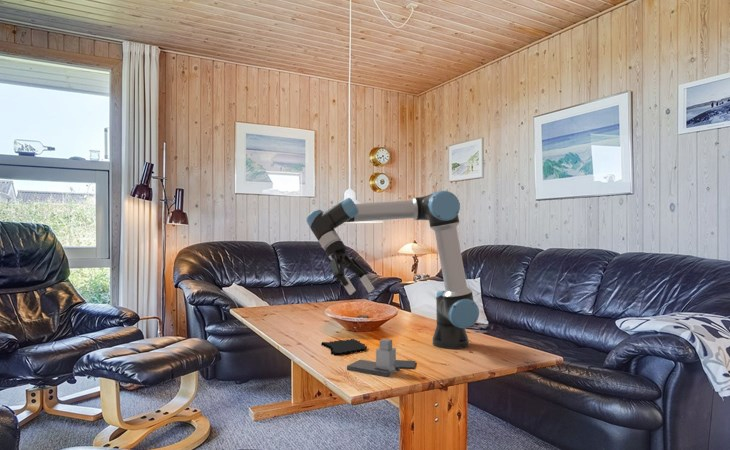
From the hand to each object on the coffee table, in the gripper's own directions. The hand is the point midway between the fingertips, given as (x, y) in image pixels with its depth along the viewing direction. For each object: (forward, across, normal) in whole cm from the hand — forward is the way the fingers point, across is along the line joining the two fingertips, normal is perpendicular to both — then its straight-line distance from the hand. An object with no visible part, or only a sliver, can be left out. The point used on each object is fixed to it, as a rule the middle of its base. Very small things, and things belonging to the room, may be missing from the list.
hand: (362, 291), depth 162 cm
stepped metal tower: (+27, +1, -9) cm, 29 cm away
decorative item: (+8, -19, -32) cm, 38 cm away
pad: (+28, -10, -7) cm, 30 cm away
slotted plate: (+24, +1, -13) cm, 27 cm away
